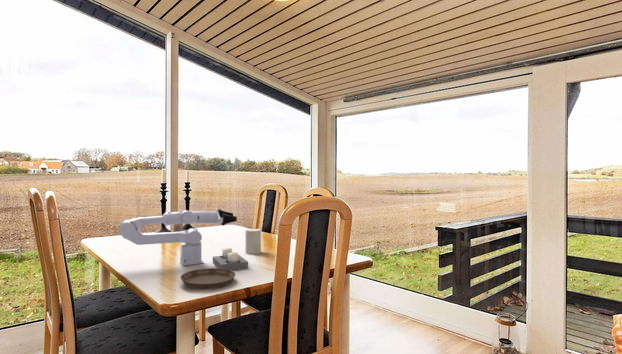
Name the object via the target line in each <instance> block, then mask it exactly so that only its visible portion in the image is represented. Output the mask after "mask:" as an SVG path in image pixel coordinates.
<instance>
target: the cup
mask: <svg viewBox="0 0 622 354" xmlns="http://www.w3.org/2000/svg"><path fill="white" fill-rule="evenodd" d="M244 233H245V235H244V236H245V240H244V241H245V250H244V251H245V254H247V255H258V254H261V253H262V229H260V228H248V229H247V228H246V229H245V231H244Z"/></svg>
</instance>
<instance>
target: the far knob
mask: <svg viewBox="0 0 622 354" xmlns="http://www.w3.org/2000/svg"><path fill="white" fill-rule="evenodd" d="M232 252H233V248H231V247H225V248H222V254H221V256H222V258H223V259H225V258H228V253H232Z"/></svg>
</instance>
